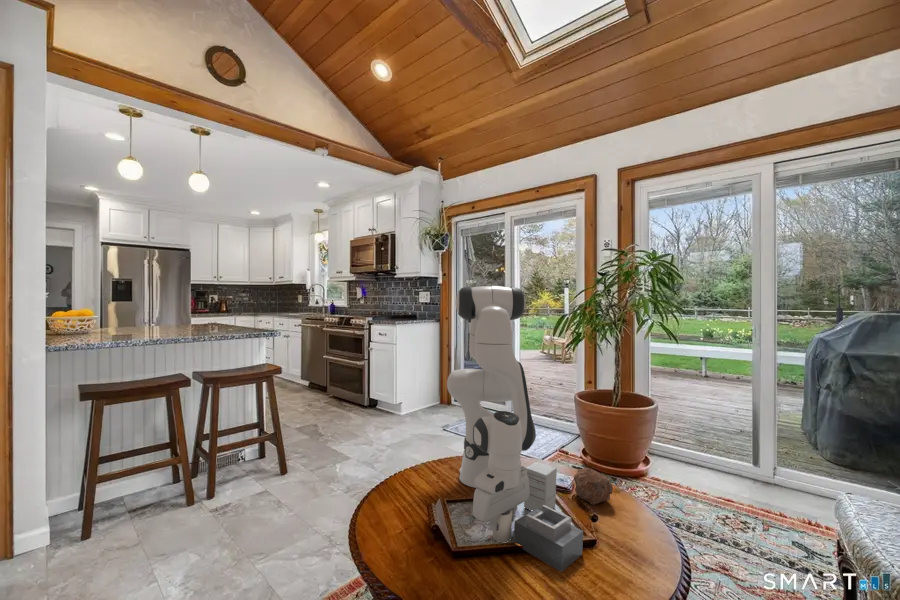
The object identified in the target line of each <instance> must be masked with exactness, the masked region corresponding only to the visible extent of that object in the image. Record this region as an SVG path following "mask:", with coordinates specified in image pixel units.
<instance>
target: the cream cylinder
mask: <svg viewBox="0 0 900 600" xmlns="http://www.w3.org/2000/svg"><path fill="white" fill-rule="evenodd" d="M496 523H498V524H499V530H498V531H496V532H493V531H492V539H493V540H494V539H495V540H496V541H495V540H494V541H495V542H497V541H499V542H498V543H500V542H507V541H509V542H510V541H511V540H512V526H513V524H512V523H513V522H512V510H511V509H510V510H508V511H506V512H504V513H502V514H500V515H499V516H497V519H496ZM510 539H511V540H510ZM507 543H508V542H507Z"/></svg>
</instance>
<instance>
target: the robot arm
mask: <svg viewBox="0 0 900 600" xmlns="http://www.w3.org/2000/svg"><path fill="white" fill-rule="evenodd" d="M455 309H456V312H457V315H458V316H459V317H460V318H461V319H463V320H466V321H468V323H469V324H470V325H469V345H468V346H469V347H468V351H469V355H470V356H471V358H472V359H473V360H475V361H476V363H477V364H478V366H479V367H480V369H479V368H478V369H477V368H461V369H460V368H459V369H454V370H452V371H451V372H450V374H449V375H448V377H447V381H446V388H447V391H448V393H449V395H450V396H451V398H453V399H454V400H456V401H457V403H458V404H459V405H460V407H461V409H462V411H463V415H464V419H465V437H464V439H463V452H462V459H461V460H462V461H461V465H460V466H461V467H460V468H459V481H460V482H461V483H462V484H463V485H466V486H468V487H471V488H475V490H474V493H473V503H472V514H473V517H474V518H475V520H478V521H479V522H481V523H483V524H486V523H487V522H489V524H490V525H489V527H490V528H489V529H490V531H492V533H493V532H496V531H498V530H499V524H498V523H496V519H497V516H499V515H500V514H502V513H504V512H506V511H508V510H510V509H511V510H512V523H513V522H515V520H514V519H515V514H516V512H517V509H518V506H520V505H521V504H522V503H523V504H524V502H525V501H526V500H528V498H529V495H530V486H529V478H528V476H527V469H526V467H525V466H523V465H522V461H521V454H522V452H526V451H528V450H529V449H530V448H531V447H532V446H533V444H534V442H535V441H536V438H537V437H536V436H537V432H536V427H535V424H534V420H533V417H532V411H531V406H530V399H529V398H530V397H529V392H528V391H529V390H528V384H527V380H526V379H527V378H526V375H525V374H526V373H525V371H524V367H523V365H522V363H521V362H520V361H518V360H517V358H516V357H515V353H514V350H513V330H512V323H511V321H513V320H517V319H520V318H521V317H522V316H523V314H524V312H525V310H526V297H525V294H524V292H523V290H522V289H521V288H519V287H515V286H510V287H508V286H503V285H487V286H485V285H483V286H482V285H481V286H471V285H470V286H464V287H461V288H460V289H459V291H458V293H457V295H456V297H455ZM511 401H512V402H511ZM481 402H493V403H494V402H497V403H504V402H511V403H512V409H513V412H512V411H511V412H510V411H507V410H506V411H505V410H500V411H498V410H497V411H495V412H494V413H492V412H491V411H490V410H488V409H487V408H484V407H483V406H482V405H481Z"/></svg>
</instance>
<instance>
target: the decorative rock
mask: <svg viewBox="0 0 900 600" xmlns="http://www.w3.org/2000/svg"><path fill="white" fill-rule="evenodd" d="M573 481H574V483H575V489H574V492H575V494H576V495H577V496H578V497H580V498H581V499H582V500H584V501H587V502H588V503H590V505H598V504H599V503H602V502H609V501H610V499H611V495H612V494H613V490H614V488H613V487H614V486H613V484H612V483H611V482H612V481H610V480H609V479H608V477H607V476H606V475H604V474H602V473H600V472H598V471H597V470H595V469H593V468H590V467H584V468H582V469H577V472H576V473H575V474H574V476H573Z"/></svg>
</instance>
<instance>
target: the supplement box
mask: <svg viewBox="0 0 900 600" xmlns="http://www.w3.org/2000/svg"><path fill="white" fill-rule="evenodd" d="M525 468H526V469H527V476H528V478H529V486H530V495H529V498H528V500H526V501H525V502H523V508H524V507H525V508H528V509H530V510H535V509H538V510H541V511H542V506H543V505H545V506H547V507H550V508H552V509H553V508H554V507H555V508H556V498H557V496H556V493H557V467H554V466H552V465H549V464H546V463H542V462H540V461H535V462H533V463H531V464H529V465H528V466H526V467H525ZM525 508H524V509H525ZM555 508H554V509H555Z"/></svg>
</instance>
